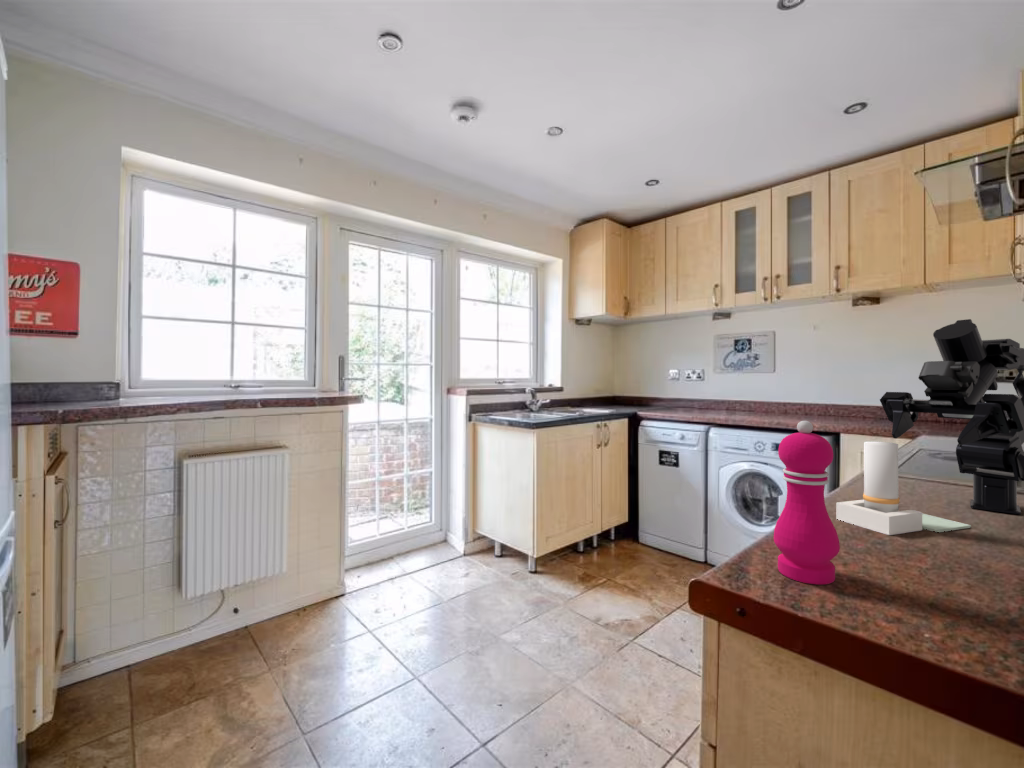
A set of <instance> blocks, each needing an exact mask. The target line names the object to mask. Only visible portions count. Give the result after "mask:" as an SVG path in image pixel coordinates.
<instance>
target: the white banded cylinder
mask: <svg viewBox="0 0 1024 768" xmlns="http://www.w3.org/2000/svg"><path fill="white" fill-rule="evenodd" d="M863 475H864V476H863V493H862V500H863V499H864V507H865V508H869V509H872V510H876V511H880V512H884V513H889V512H897V511H899V504H900V503H901V502H900V499H901V497H899V444H898V443H896V442H890V441H889V442H888V441H874V440H873V441H864V442H863Z"/></svg>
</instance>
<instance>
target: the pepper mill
mask: <svg viewBox="0 0 1024 768" xmlns="http://www.w3.org/2000/svg"><path fill="white" fill-rule="evenodd" d="M796 430H797V431H798V432H794V433H790V434H788V435H786V436H785V437H783V438H782V439H781V440H780V442H779V445H778V450H777V451H778V453H777V454H778V457H779V460H780V461H781V463H783V465H784V466H785V468H783V469H782V473H783V476H782V479H783V480H784V481H785V482H786V489H787V490H786V500H785V504H784V507H783V509H782V511H781V513H780V515H779V517H778V518H777V521H776V522H775V526H774V529H773V541H774V545H775V546H776V547H777V549H778V550H779V551H780V552H781V553H780V554H779V555H778V556H777V570H778V572H779V573H780V574H781V575H783V576H784V577H786V578H788V579H790V580H794V581H797V582H800V583H804V584H809V585H817V586H819V585H820V586H821V585H823V586H824V585H830V584H832V583H834V582H835V581H836V566H835V564H834V563H833V562H832V560H833V559H834V558H836V557H837V556H838V555H839V553H840V550H841V546H840V539H839V534H838V531H837V530H836V528H835V525H834V524H833V521H832V520H831V517H830V515H829V512H828V510H827V505H826V503H825V487H826V485H828V484H829V481H830V480H828V478H829V474H830V473H829V472H827V471H826V470H827V468H828V467H829V466H830V465H831V464H832V463H833V460H834V450H833V446H832V445H831V443H830V442H829V441H828V440H827V439H826V438H824V437H823V436H822V435H820V434H817V433H812V432H813V430H814V426H813V423H812V422H810V421H808V420H801V421H799V422H798V423H797V425H796Z"/></svg>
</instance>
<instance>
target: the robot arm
mask: <svg viewBox="0 0 1024 768" xmlns="http://www.w3.org/2000/svg"><path fill="white" fill-rule="evenodd" d="M932 335H933V338H934V341H935V342H936V343H935V344H936V346H937V348H938V352H939V353H940V356H941V358H942V360H938V361H937V360H935V361H934V360H933V361H931V360H930V361H925V362H924V363H923V365H922V367H921V370H920V373H919V375H918V379H919V381H921V382H922V383H923V384H924V386H926V388H925V389H924V394H925V396H926V397H927V398H928V397H929V399H914V397H913V396H912V393H911V392H907V391H906V392H905V391H902V392H901V391H885V393H884V394H883V395H882V396H881V397H880V398H879V401H880V404H881V406H882V408H883V410H884V413H885V415H886V417H887V419H888V421H889V422H891V423H892V429H891V436H892V438H893V439H898V438H900V437H902V435H904V434H905V433H907V432H908V431H909V430H910V429H912V428H913V427H914V426H915V425H914V423H916V421H918V419H919V413H925V414H936V415H937V417H938V418H942V419H959V420H969V421H968V423H967V424H966V425H965V426H964V427H963V429H962V430H961V432H960V434H958V437H957V439H956V441H957V445H956V446H955V447H956V448H955V454H956V455H955V456H956V461H957V465H958V470H959V473H960V474H969V475H972V476H973V477H972V479H973V480H972V481H973V483H972V485H973V488H972V490H973V491H972V492H973V493H972V496H973V497H972V499H970V501H969V502H970V508H972V509H977V510H982V511H983V510H985V511H991V512H999V513H1007V514H1012V515H1013V514H1014V515H1021V514H1022V511H1021V508H1020V505H1018V504H1017V502H1018V501H1017V500H1018V496H1017V495H1018V494H1017V493H1018V492H1017V491H1018V484H1017V482H1024V449H1023V444H1024V374H1023V373H1024V347H1023V348H1022V347H1020V346H1021V344H1020V343H1019V342H1017V341H1016V340H1013V339H1011V338H998V339H983V340H982V336H981V334H980V331H979V329H978V326H977V324H976V323H974V322H973V320H972V319H971V318H969V319H959V320H956V321H955V322H954V323H950V324H948V325H945V326H942V327H940V328H939V329H936V330H935V331H934V332H933V334H932ZM1011 370H1017V374H1016V376H1015V378H1014V380H1013V382H1012V386H1013V389H1014V390H1015V392H1016V394H1013V393H1007V394H1006V393H987V391H997V390H998V389H999V387H998V385H999V384H998V383H997V382H998V381H997V377H998V371H1011Z"/></svg>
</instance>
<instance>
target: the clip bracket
mask: <svg viewBox="0 0 1024 768" xmlns="http://www.w3.org/2000/svg"><path fill="white" fill-rule="evenodd" d="M835 504H836V505H835V509H836V510H835V512H836V515H835V516H836V517H835V518H836V520H837V519H838V520H837V521H840V520H841V522H843V521H844V523H847V524H850V525H853V524H854V525H853V526H856V527H860V528H864V529H866V530H867V529H868V530H869V531H874V532H877V533H881V534H884V535H887V536H893V535H900V534H905V533H912V532H919V531H923V529H922V513H923V512H922V511H919V510H915V509H907V510H904V509H903V510H898V511H897V512H889V513H884V512H880V511H876V510H872V509H869V508H865V507H864V499H863V498H862V499H858V500H857V499H856V500H847V501H839V502H838V501H837V502H836V503H835Z"/></svg>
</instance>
